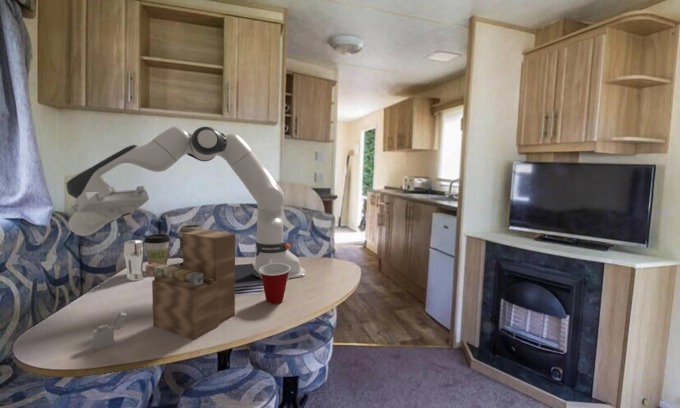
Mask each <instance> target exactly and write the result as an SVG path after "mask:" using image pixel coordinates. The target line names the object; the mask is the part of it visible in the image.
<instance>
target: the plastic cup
mask: <svg viewBox="0 0 680 408" xmlns="http://www.w3.org/2000/svg"><path fill="white" fill-rule="evenodd" d="M289 271H290V266H289V265H286V264H281V263H274V264H267V265H264V266H262V267H261V268H259V272H260V273H261V276H262V278H261V280H262V286H263V290H264V291H263V292H264V296H265V300H266V303H268V304H272V305H273V304H275V305H276V304H280V303H282V302H283V300H284V296H285V292H286V287H287V281H288V279H289V278H288V273H289ZM287 278H288V279H287Z"/></svg>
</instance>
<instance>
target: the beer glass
mask: <svg viewBox="0 0 680 408" xmlns="http://www.w3.org/2000/svg"><path fill="white" fill-rule="evenodd" d="M123 245H124V246H123V257H124V263H125V266H126V267H125V268H126V278H125V280H126V281H127V282H136V281H141V280H143V279H144V278H145V276H144V272H143V271H144V270H143V268H144V267H143V265H144V260H145V242H144V240H142V239H132V240H131V239H130V240H126V241H124V243H123Z"/></svg>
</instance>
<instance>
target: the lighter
mask: <svg viewBox="0 0 680 408" xmlns="http://www.w3.org/2000/svg"><path fill="white" fill-rule="evenodd" d="M126 317H127V312H125V311H119V314H118V315H117V318H116V319H115V321H114V323H113V325H112V326H109V325H108V324H104V325H99V326H98V327H97V328H96V329H94V330H93V348H94V350H98V349H102V348H107V347H110V346H112V347H113V346H114V345H115V343H114V341H115V340H114V338H115V337H114V336H115V335H114V330H117V331H119V330H120V329H121V327H122V324H123V323H124V320H125V319H126Z"/></svg>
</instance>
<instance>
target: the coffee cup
mask: <svg viewBox="0 0 680 408" xmlns="http://www.w3.org/2000/svg"><path fill="white" fill-rule="evenodd" d="M143 241H144V245H145V251H146V258H147V263H148V264H147V265H149V264H153V263H157V264H162V265H167V266H168V257H169V248H170V246H169V245H170V241H171V238H170V237H169V235H168V234H165V233H163V234H161V233H160V234H149V235H146V236H145V239H144V240H143Z"/></svg>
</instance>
